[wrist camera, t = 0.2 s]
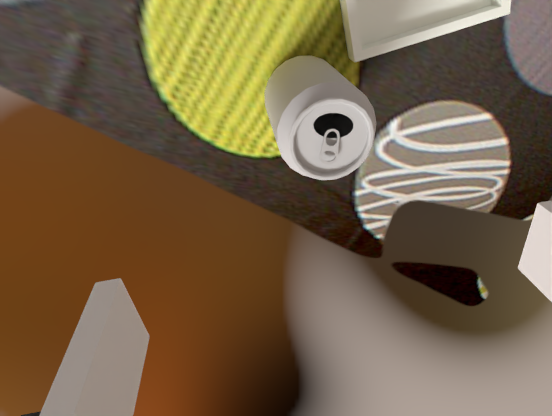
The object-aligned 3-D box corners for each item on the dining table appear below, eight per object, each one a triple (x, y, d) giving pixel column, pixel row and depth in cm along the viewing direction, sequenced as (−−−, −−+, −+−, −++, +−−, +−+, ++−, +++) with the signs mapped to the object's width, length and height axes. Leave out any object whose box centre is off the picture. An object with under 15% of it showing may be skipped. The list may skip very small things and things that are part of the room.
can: (347, 58, 34) (399, 95, 24) (330, 134, 38) (368, 192, 28) (268, 48, 33) (289, 82, 23) (259, 127, 37) (272, 185, 27)
